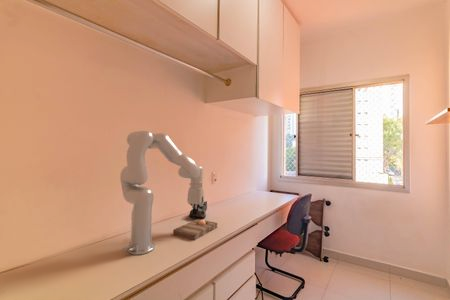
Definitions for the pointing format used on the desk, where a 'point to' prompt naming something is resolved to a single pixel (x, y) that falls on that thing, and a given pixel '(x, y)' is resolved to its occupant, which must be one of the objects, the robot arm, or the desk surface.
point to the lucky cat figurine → (200, 211)
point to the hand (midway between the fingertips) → (195, 214)
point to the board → (194, 229)
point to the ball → (202, 222)
